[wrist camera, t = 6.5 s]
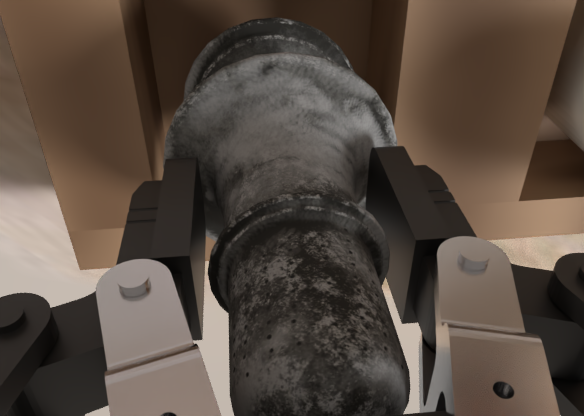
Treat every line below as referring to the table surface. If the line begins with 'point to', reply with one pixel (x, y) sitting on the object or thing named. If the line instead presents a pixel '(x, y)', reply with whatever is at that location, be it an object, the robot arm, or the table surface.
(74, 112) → the rack
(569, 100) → the pepper pot
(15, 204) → the table surface
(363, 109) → the stone chess piece
